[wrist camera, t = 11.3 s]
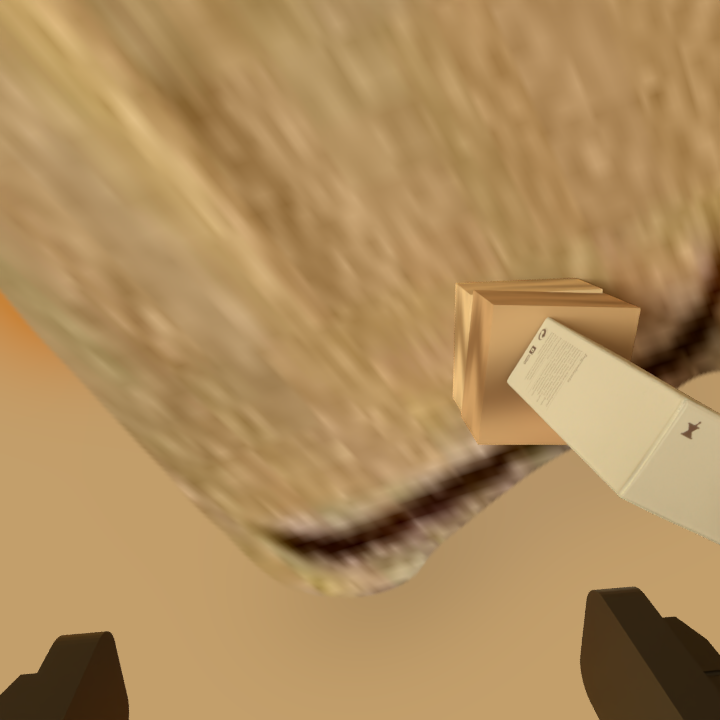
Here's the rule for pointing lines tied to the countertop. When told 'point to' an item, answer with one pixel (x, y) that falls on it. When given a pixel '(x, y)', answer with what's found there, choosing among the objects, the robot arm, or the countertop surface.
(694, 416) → the skincare box
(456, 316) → the block lower
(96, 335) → the countertop surface
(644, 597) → the robot arm
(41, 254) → the countertop surface
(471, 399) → the tan square block
